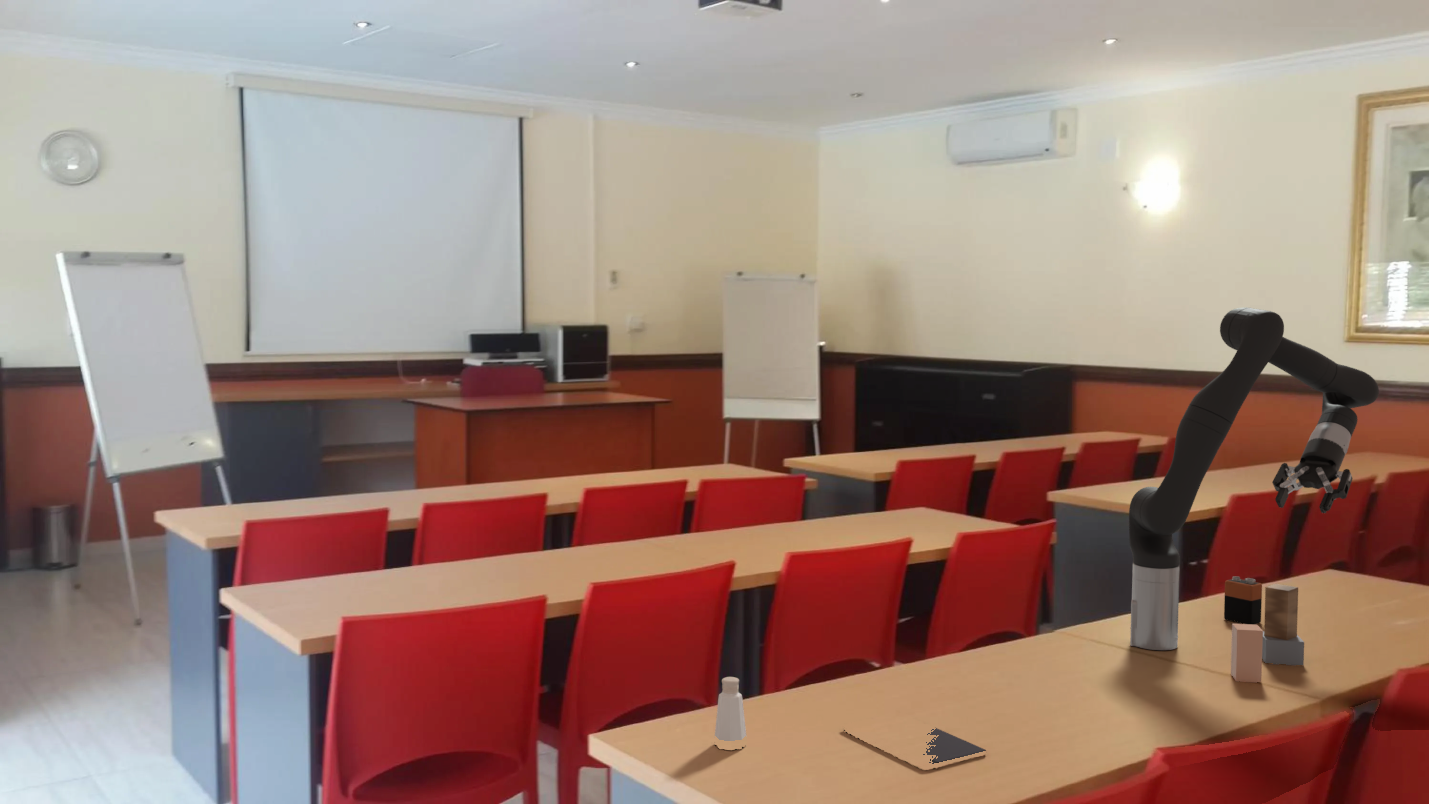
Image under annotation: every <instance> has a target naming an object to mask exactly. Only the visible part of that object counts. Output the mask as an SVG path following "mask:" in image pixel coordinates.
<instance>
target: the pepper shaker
mask: <svg viewBox="0 0 1429 804" xmlns="http://www.w3.org/2000/svg"><path fill="white" fill-rule="evenodd" d="M721 683H722V685H721V689H722V691H721V693H719V694H718V700H717V710H716V711H717V712H716V721H715V729H714V737H715V736H716V737H717V738H718V739H719V740H724V741H735V740H742V739H743V738H744V737H745V736H746V737H747V730H746V721H745V720H746V719H745V711H744V709H745V708H744V702H743V700H744V699H743V695H742V693H740V691H739V684H740V679H739V678H738V677H734V676H726V677H723V678H722V679H721Z"/></svg>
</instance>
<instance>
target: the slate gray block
mask: <svg viewBox="0 0 1429 804" xmlns="http://www.w3.org/2000/svg"><path fill="white" fill-rule="evenodd" d="M1262 659H1263V660H1262V662H1263V663H1264V662H1265V663H1273V664H1272V665H1279V664H1286V665H1285V666H1296V665H1303V666H1304V662H1305V661H1304V659H1305V641H1304V640H1303V639H1302V638H1301V637H1300V636H1299V635H1298V634H1297V637H1294V638H1292V639H1289V640H1282V639H1277V638H1272V637H1267V636H1264V630H1263V643H1262ZM1265 663H1264V664H1265Z"/></svg>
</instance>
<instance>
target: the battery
mask: <svg viewBox="0 0 1429 804" xmlns="http://www.w3.org/2000/svg"><path fill="white" fill-rule="evenodd" d="M1262 596H1263V584H1262V583H1261V582H1256V579H1255V578H1250V577H1247V578H1244V579H1242V578H1241V577H1240V576H1232V578H1231V579H1227V580H1225V582H1224V602H1223V603H1224V605H1223V619H1224V620H1226V621H1231V622H1234V623H1237V624H1242V623H1243V624H1253V625H1258V624H1260V623H1262V603H1263V600H1262V599H1263V597H1262Z"/></svg>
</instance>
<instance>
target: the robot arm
mask: <svg viewBox="0 0 1429 804" xmlns="http://www.w3.org/2000/svg"><path fill="white" fill-rule="evenodd" d="M1284 331H1285V324H1284V321H1283V319H1282V317H1281V315H1280V314H1279V313H1277V312H1275V311H1271V310H1266V309H1259V308H1252V307H1237V308H1233V309H1231V310H1229V311H1227V313H1226V314H1225V315H1223V318H1222V319H1221V322H1220V325H1219V334H1220V337H1221V339H1222V341H1223V342H1224V344H1226V345H1227V346H1228V347H1229V348H1231V349H1233V350H1235V351H1236V353H1235V354H1234V355H1233V358H1232V360H1231V361H1230V362H1229V364H1228V365H1227V367H1226V368H1225V369H1224V370H1223V371H1222V372H1221V373H1220V374H1218V376H1216V377H1215V378H1213V379H1212V380H1211V381H1210V382H1209V383H1208V384H1206V385H1205V386H1204V387H1202V388H1201V389H1200V390H1199V391H1198V392H1197V393H1196V394H1195V395H1194V397H1193V398H1192V400H1191V401H1190V402H1189V404H1188V406H1187V408H1186V410H1185V412H1184V413H1183V416H1182V417H1181V420H1180V421H1179V424H1178V427H1177V430H1176V435H1175V441H1174V449H1173V450H1174V451H1173V456H1172V460H1171V464H1170V466H1169V468H1168V470H1167V472H1166V475H1165V476H1164V478H1163V480H1162V481H1161V483H1160V485H1159V486H1158V487H1156V486H1146V487H1142V488H1141V489H1139V490H1138V491H1137V492H1135V494H1134V495H1133V496H1132V498H1131V501H1130V504H1129V510H1128V524H1129V525H1128V535H1129V536H1128V537H1129V539H1128V541H1129V549H1130V551H1131V554H1132V580H1131V584H1132V586H1131V587H1132V588H1131V602H1130V643H1129V644H1130V646H1132V647H1137V648H1140V649H1145V650H1151V651H1152V650H1153V651H1170V650H1171V651H1172V650H1175V649H1177V648H1178V642H1179V606H1180V605H1179V603H1180V601H1179V600H1180V598H1179V597H1180V558H1181V557H1180V553H1179V551H1178V549H1177V547H1176V546H1175V543H1174V539H1173V534H1175V533H1176V532H1178V531H1179V530H1181V528H1182V527H1183V526H1184V524H1186V523H1185V522H1186V521H1187V519H1188V517H1189V514H1190V512H1191V509H1192V507H1193V504H1194V502H1195V499H1196V497H1197V494H1198V492H1199V489H1200V487H1201V485H1202V483H1203V480H1204V478H1205V476H1206V474H1207V473H1208V470H1209V469H1210V466H1211V465H1212V463H1213V461H1214V460H1215V457H1216V456H1217V453H1218V451H1219V449H1220V447H1221V446H1222V444H1223V442H1224V441H1225V439H1226V437H1227V436H1228V433H1229V432H1230V430H1231V428H1232V427H1233V424H1234V422H1235V419H1236V418H1237V415H1238V413H1239V411H1240V409H1241V408H1242V406H1243V404H1244V402H1245V401H1246V399H1247V397H1248V395H1249V394H1250V392H1251V390H1252V388H1253V387H1254V384H1256V382H1257V380H1258V378H1259V377H1260V375H1261V374H1262V372H1263V370H1264V369H1265V367H1266V366H1267V365H1268V363H1269V364H1271V365H1272V366H1275V367H1276V368H1278V369H1280V370H1282V371H1284V372H1285V373H1286V374H1288V375H1290V376H1291V377H1294V378H1295V379H1296V380H1298V381H1300V382H1301V383H1303V384H1304V385H1307V386H1308V387H1310V388H1311V389H1313V390H1315V391H1316V392H1320V393H1322V403H1321V415H1320V417H1319V420H1318V421H1317V423H1316V425H1315V428H1314V429H1313V431H1312V432H1311V434H1310V436H1309V439H1308V441H1307V442H1306V444H1305V445H1306V446H1305V447H1304V450H1303V452H1302V454H1301V456H1300V459H1299V463H1298V464H1297V465H1296V466H1290V465H1288V463H1287V462H1284V463H1282V464H1281V465H1280V467H1279V469H1278V471H1277V472H1276V475H1275V476H1274V477H1273V480H1272V485H1273V487H1274V490H1275V491H1276V492H1277V494H1276V496H1275V502H1276V504H1277V506H1278V508H1280V509H1281V508H1282V509H1283V508H1284V506H1285V505H1286V502H1287V500H1288V498H1289V496H1290V495H1289V494H1290V493H1293V491H1299V490H1300V489H1302V488H1305V489H1312V488H1313V489H1316V490H1320V489H1324V491H1325V492H1324V494H1323V497H1322V499H1321V502H1320V504H1319V507H1318V508H1319V510H1320V512H1321V514H1327V512H1329V511H1330V510H1331V508H1332V506H1333V504H1334V501H1335V500H1337V499H1341V500H1344V499H1346V498H1347V497H1348V494H1349V491H1350V488H1351V485H1352V482H1353V475H1352V473H1351V471H1350V469H1349V468H1345V469H1343V471H1340V469H1341V466H1342V464H1343V461H1344V458H1345V457H1346V454H1347V453H1348V450H1349V447H1350V442H1351V439H1352V436H1353V434H1354V432H1355V429H1356V428H1357V424H1358V415H1357V413H1356V412H1355V410H1353V409H1355V408H1360V407H1366V406H1369V405H1371V404H1373V403H1375V402H1376V400H1377V399H1378V397H1379V394H1380V389H1379V385H1378V383H1377V382H1376V380H1375V378H1374V377H1372V375H1370V374H1368V373H1367V372H1366V371H1363V370H1360V369H1357V368H1354V367H1350V366H1349V365H1343V364H1339V363H1336V362H1335V361H1334V360H1333V359H1330V358H1329V357H1327V356H1326V355H1324V354H1322V353H1320V352H1319V351H1317V350H1315V349H1312V348H1310V347H1308V346H1306V345H1303V344H1300V343H1298V342H1296V341H1293V340H1291V339H1289V338H1287V337H1284V333H1285V332H1284ZM1338 478H1339V483H1338V485H1337V487H1336V488H1334V487H1333V486H1332V485H1331V483H1333V482H1334V481H1336V480H1337V479H1338ZM1297 480H1298V482H1297Z"/></svg>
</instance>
